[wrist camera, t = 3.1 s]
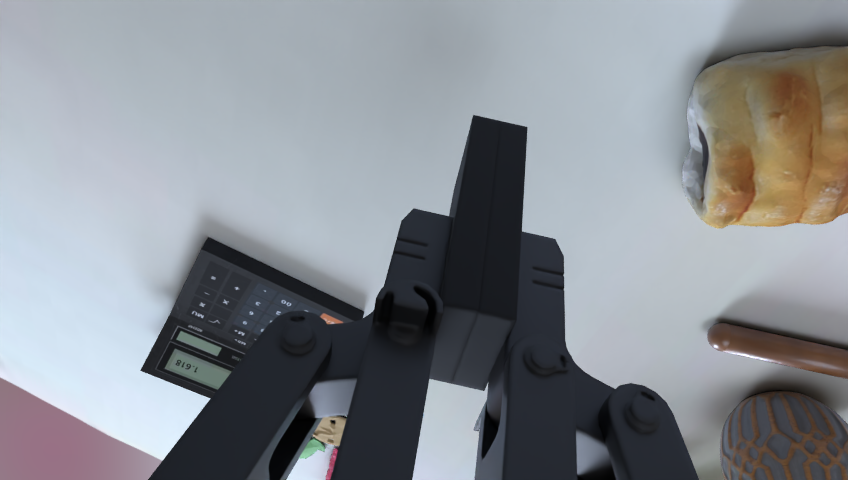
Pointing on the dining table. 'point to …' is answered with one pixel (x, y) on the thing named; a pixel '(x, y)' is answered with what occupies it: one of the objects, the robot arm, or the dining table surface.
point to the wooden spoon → (779, 349)
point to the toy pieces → (326, 439)
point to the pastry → (770, 139)
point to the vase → (784, 440)
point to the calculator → (229, 317)
